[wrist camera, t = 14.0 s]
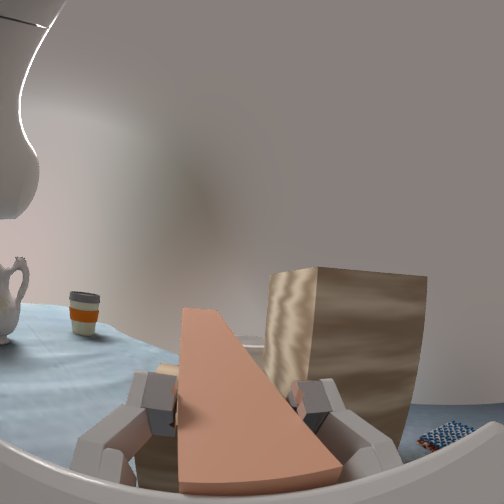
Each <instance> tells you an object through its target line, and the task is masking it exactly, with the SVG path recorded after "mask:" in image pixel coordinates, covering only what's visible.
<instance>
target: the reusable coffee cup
mask: <svg viewBox="0 0 504 504" xmlns="http://www.w3.org/2000/svg"><path fill="white" fill-rule="evenodd" d="M69 299H70V307H69V308H70V319H71V321H72V331H73V333H75V334H78V335H85V336H90V335H94V332H95V325H96V322H97V319H98V313H99V310H98V307H99V303H100V296H99V295H96V294H91V293H85V292H75V291H74V292H73V291H72V292H70V297H69Z"/></svg>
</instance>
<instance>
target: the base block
mask: <svg viewBox="0 0 504 504" xmlns="http://www.w3.org/2000/svg"><path fill="white" fill-rule="evenodd" d="M155 373H160V374H166V375H173V376H177V389H178V383H179V365H171V364H163V363H160V365H159V367H158V368H157V370H156V372H155ZM263 373H264V374H265V375H266V376H267V378H268V379H269V380H270V381H271V383H272V384H273V385H274V386H275V384H274V383H273V381H272V380H271V379H270V377H269V376H268V375H267V373H266V372H265V371H263ZM275 388H276V389H277V390H278V391H279V389H278V388H277V387H276V386H275ZM279 393H280V394H281V395H282V393H281V392H280V391H279ZM282 396H283V395H282ZM283 398H284V399H285V397H284V396H283ZM285 400H286V399H285ZM134 457H135V465H136V472H137V479H138V486H139V488H143V489H149V490H156V491H163V492H171V493H179V476H178V404H177V413H176V429H175V437H171V436H161V435H152V436H151V437H150V438H149V439H148V441H147V442H146V443H145V444H144V445H143V446H142V447H141V448H140V450H139V451H138V452H137V453H136V454H135V455H134Z"/></svg>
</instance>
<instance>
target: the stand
mask: <svg viewBox="0 0 504 504" xmlns="http://www.w3.org/2000/svg"><path fill="white" fill-rule="evenodd" d="M426 295H427V277H426V276H414V275H402V274H391V273H380V272H369V271H358V270H347V269H337V268H325V267H313V268H307V269H301V270H294V271H288V272H282V273H275V274H270V284H269V297H268V308H267V320H266V331H265V341H264V352H263V363H262V371H265V372H266V373H267V375H268V376H269V377H270V379H271V380H272V381H273V383H274V384H275V386H276V387H277V388H278V389H279V391H280V392H281V393H282V395H283V396H284V397H285V399H286V398H287V395H288V393H290V392H291V391H292V389H291V385H292V382H293V381H294V380H310V379H329V378H332V379H333V380H334V382H335V384H336V387H337V389H338V391H339V394H340V396H341V399H342V401H343V403H344V406H345V408H346V410H349V409H350V410H351V411H352V412H354V413H355V414H357V415H358V416H359V417H361V418H362V419H363V420H365V421H366V422H368V423H369V424H370V425H372V426H373V427H375V428H376V429H377V430H379V431H380V432H382V433H383V434H385V435H386V436H388V437H389V438H390V439H392V440H393V443H394V445H395V447H396V449H398V446H399V443H400V440H401V437H402V434H403V430H404V427H405V423H406V419H407V416H408V412H409V408H410V404H411V400H412V395H413V391H414V386H415V380H416V376H417V370H418V365H419V359H420V352H421V345H422V338H423V330H424V321H425V310H426Z"/></svg>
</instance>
